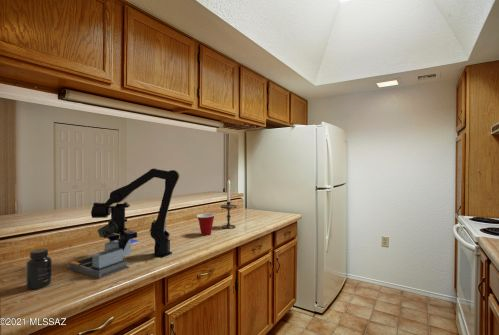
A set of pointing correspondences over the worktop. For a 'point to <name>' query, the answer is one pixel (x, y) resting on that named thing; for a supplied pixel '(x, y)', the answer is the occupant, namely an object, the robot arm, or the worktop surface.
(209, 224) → the plastic cup
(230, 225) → the candlestick
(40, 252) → the supplement bottle
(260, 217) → the worktop surface
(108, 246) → the pale grey block
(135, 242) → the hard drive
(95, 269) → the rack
